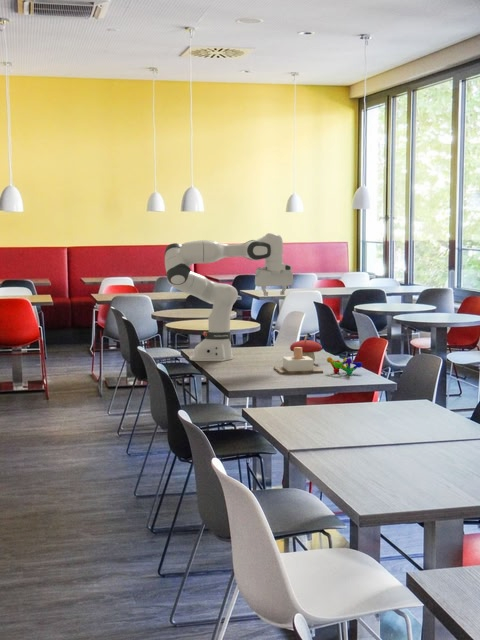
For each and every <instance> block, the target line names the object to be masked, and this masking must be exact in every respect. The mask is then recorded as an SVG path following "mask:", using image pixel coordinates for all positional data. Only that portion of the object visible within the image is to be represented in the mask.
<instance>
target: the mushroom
mask: <svg viewBox="0 0 480 640" xmlns="http://www.w3.org/2000/svg"><path fill="white" fill-rule="evenodd" d="M308 337H309V338H311V337H312V334H310V333H309V332H307V333H306V335H305V337H304V340H297V341H295V342H293V343H292V344H290V347H289V349H290V351H291V352H294V347H302V356H308V357H310V358H312V359H313V360H314V362H315V360H316V357H315V353H318V352H321V351H322V349H323V347H322V345H321V344H320V343H319V342H317V341H313V340H310V339H309V340H307V339H308Z"/></svg>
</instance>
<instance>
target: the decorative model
mask: <svg viewBox="0 0 480 640" xmlns="http://www.w3.org/2000/svg"><path fill="white" fill-rule="evenodd" d="M326 362H327V363H330V365H331V366H332V368H333V373H334V374H338V373H339V372H340V369H341V370H343V371H344V372H346V375H348V376H351V375H352V374H353V372H354V371H355V370H356V369H359V368H362V367H363V363H362V362H360V361H358V362H355V361H353V359H352V358H350V357H348V358H347V357H345V358H343V359H342V361H340V360H338V359H337V360H334V359H333V358H332V357H330V356H328V357H327V358H326ZM351 365H354V366H352V367H351Z"/></svg>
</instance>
